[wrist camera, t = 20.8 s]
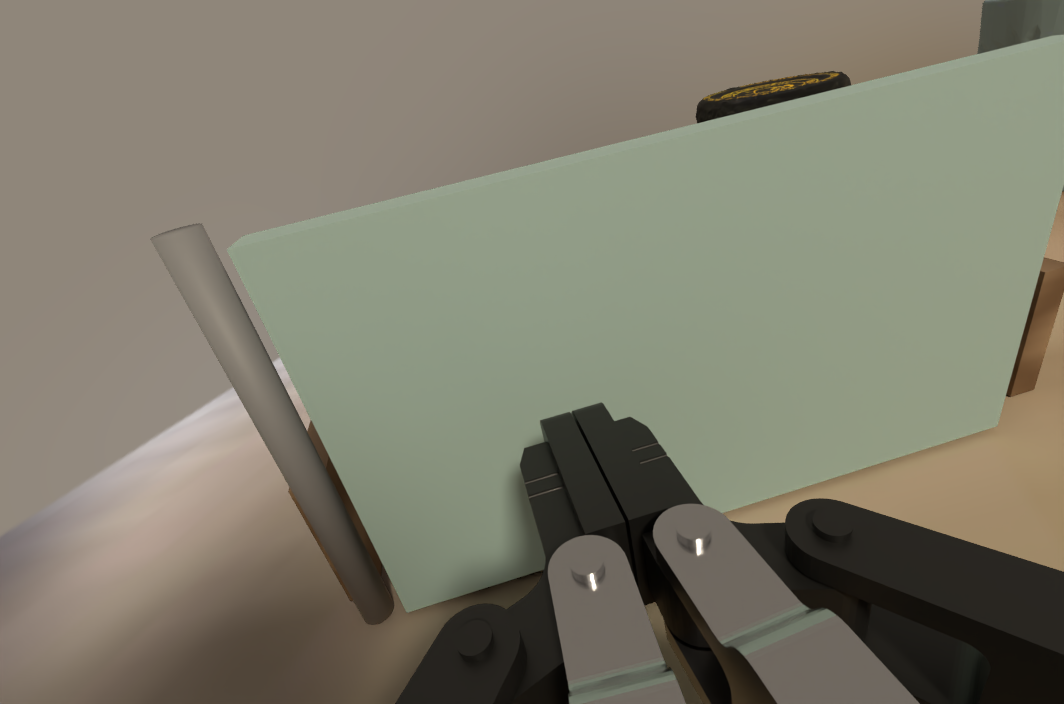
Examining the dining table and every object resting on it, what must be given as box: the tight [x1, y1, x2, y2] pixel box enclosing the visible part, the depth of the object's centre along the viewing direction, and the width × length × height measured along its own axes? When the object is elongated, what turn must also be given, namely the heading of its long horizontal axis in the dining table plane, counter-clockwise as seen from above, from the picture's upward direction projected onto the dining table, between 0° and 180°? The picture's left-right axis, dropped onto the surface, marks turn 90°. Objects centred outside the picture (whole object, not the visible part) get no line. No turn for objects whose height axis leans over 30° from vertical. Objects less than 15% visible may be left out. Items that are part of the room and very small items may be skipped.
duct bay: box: [288, 258, 1064, 601], centre depth 23 cm, size 26×13×5 cm, turn 101°
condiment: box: [696, 71, 851, 123], centre depth 22 cm, size 7×8×12 cm
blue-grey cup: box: [978, 0, 1064, 191], centre depth 36 cm, size 10×10×12 cm
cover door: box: [151, 35, 1064, 625], centre depth 15 cm, size 22×1×13 cm, turn 101°
